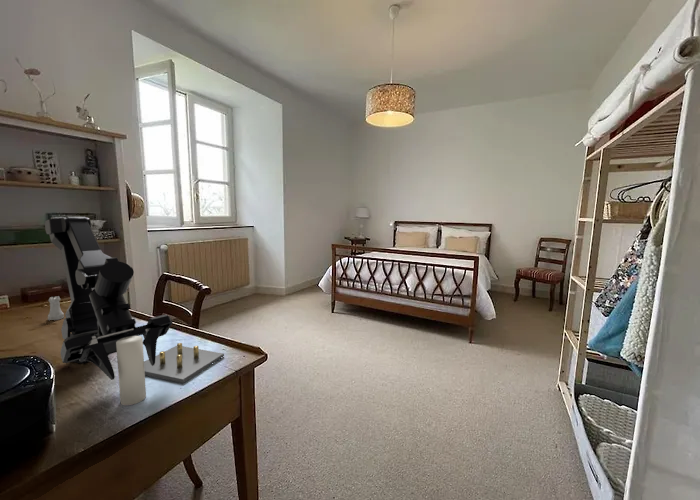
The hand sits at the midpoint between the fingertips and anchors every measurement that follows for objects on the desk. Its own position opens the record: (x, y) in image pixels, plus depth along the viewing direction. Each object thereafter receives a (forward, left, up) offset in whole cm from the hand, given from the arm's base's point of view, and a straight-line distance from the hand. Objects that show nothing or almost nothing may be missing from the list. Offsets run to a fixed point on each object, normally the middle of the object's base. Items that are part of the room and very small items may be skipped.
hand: (134, 371), depth 63 cm
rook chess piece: (-72, +27, -7) cm, 78 cm away
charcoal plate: (-4, +15, -7) cm, 17 cm away
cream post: (-1, 0, -7) cm, 7 cm away
